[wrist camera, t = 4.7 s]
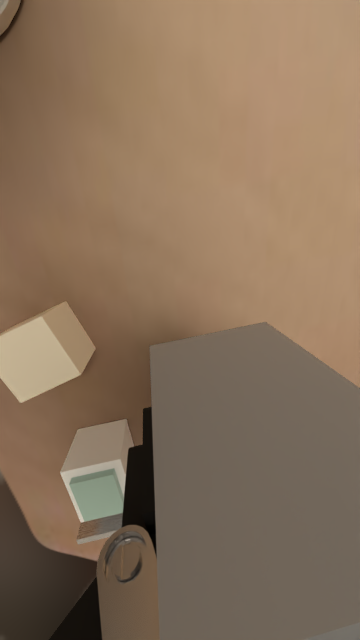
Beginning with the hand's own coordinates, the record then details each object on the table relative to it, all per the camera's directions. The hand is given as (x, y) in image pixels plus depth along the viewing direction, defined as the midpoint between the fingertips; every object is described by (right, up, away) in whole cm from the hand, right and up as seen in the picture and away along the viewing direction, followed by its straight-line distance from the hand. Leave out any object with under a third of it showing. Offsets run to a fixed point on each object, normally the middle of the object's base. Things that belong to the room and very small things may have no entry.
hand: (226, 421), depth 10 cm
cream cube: (-13, +3, +12) cm, 18 cm away
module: (0, 0, +1) cm, 1 cm away
